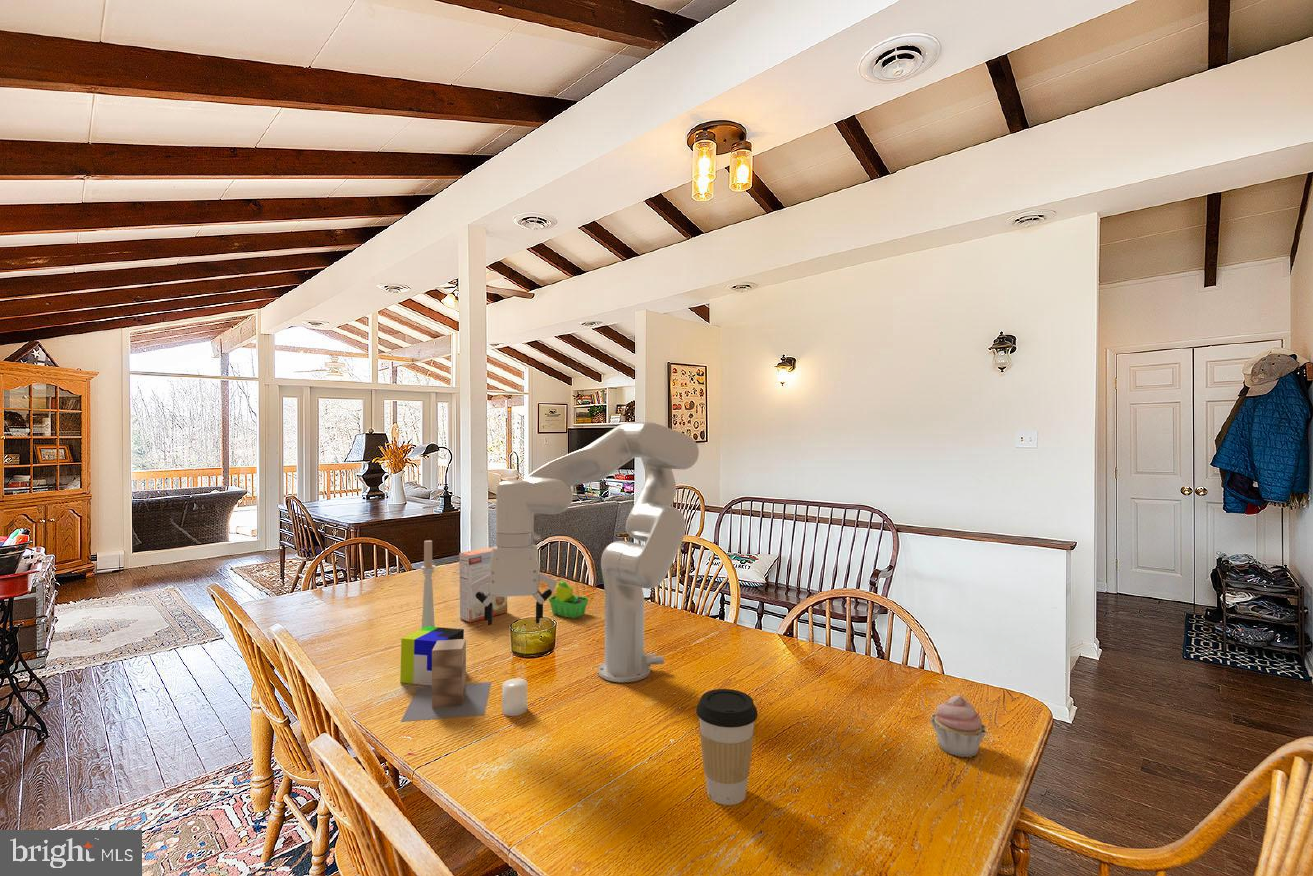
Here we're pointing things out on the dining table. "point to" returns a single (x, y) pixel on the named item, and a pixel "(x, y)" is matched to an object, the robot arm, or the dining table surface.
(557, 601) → the fruit basket
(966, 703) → the cupcake
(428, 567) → the candlestick
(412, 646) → the puzzle toy
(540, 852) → the dining table surface
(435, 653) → the tower top
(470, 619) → the cracker box
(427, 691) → the mat
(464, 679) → the block
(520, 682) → the ceramic cylinder
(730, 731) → the coffee cup
